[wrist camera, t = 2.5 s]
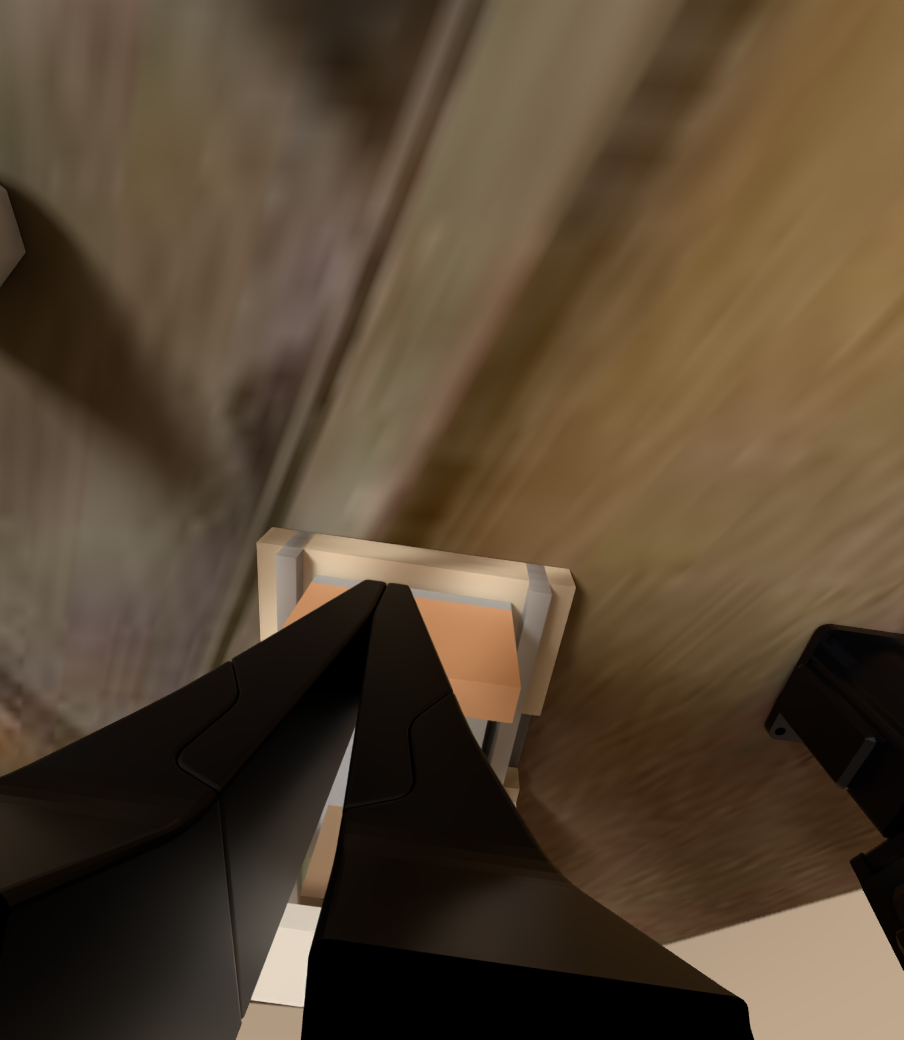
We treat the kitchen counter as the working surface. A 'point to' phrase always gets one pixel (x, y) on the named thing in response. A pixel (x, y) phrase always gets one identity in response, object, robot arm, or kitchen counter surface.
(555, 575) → the track deck
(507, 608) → the sled
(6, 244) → the salt shaker
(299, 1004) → the tunnel
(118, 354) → the kitchen counter surface
